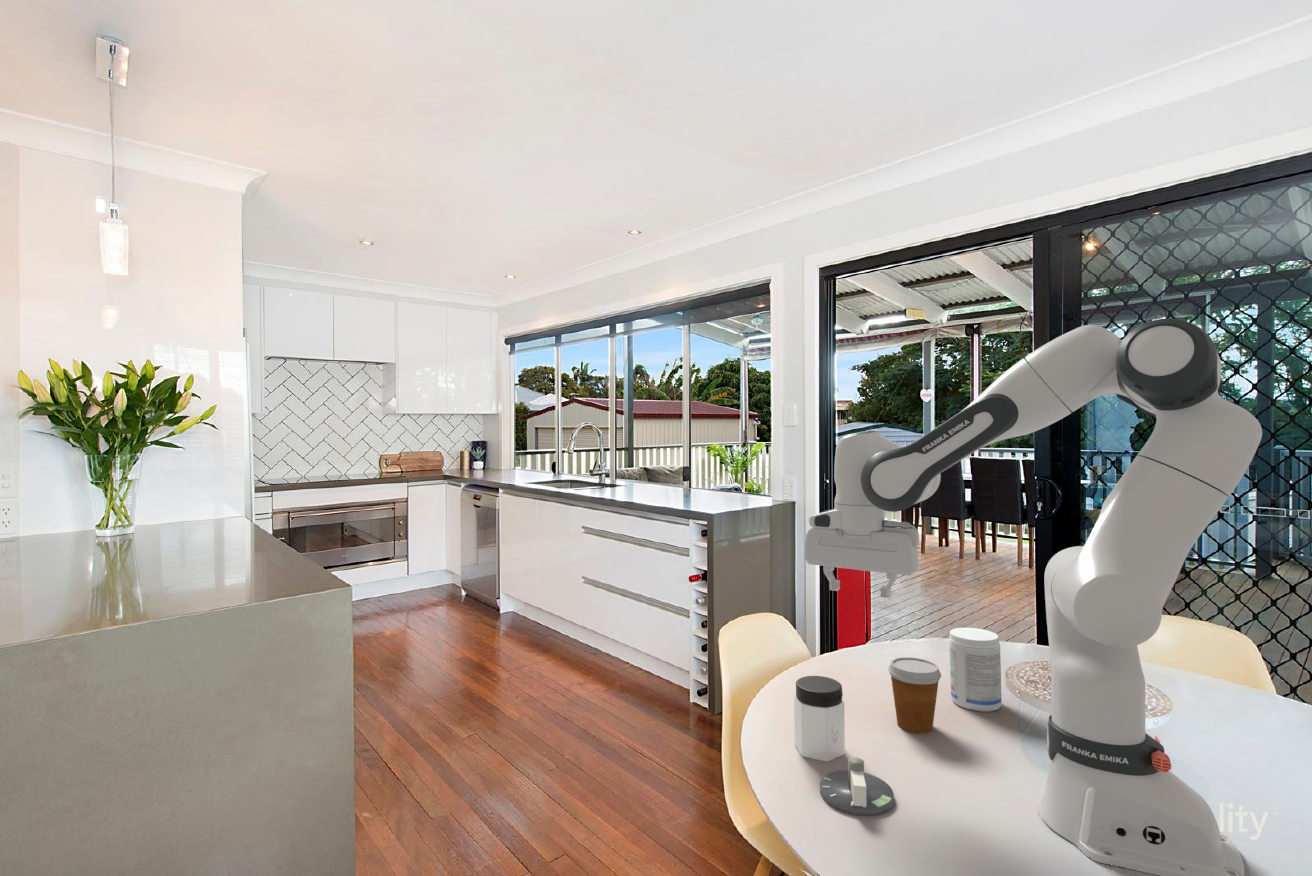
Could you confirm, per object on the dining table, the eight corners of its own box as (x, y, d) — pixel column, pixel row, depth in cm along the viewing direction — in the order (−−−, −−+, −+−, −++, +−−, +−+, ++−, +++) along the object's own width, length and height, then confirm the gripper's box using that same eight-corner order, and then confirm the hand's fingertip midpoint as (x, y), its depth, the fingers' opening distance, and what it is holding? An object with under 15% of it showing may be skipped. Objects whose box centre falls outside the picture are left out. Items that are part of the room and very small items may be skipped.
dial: (901, 791, 101) (901, 782, 101) (882, 826, 92) (882, 817, 92) (833, 770, 107) (833, 762, 107) (809, 802, 98) (809, 793, 98)
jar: (819, 767, 108) (819, 697, 108) (785, 747, 115) (784, 682, 115) (854, 752, 113) (853, 685, 113) (819, 734, 120) (818, 671, 120)
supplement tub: (1010, 705, 132) (1009, 635, 132) (987, 718, 126) (986, 644, 126) (964, 690, 140) (963, 624, 140) (940, 701, 134) (940, 632, 134)
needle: (847, 782, 101) (847, 756, 101) (863, 783, 100) (863, 758, 100) (851, 805, 94) (851, 778, 94) (868, 807, 94) (868, 780, 94)
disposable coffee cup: (890, 734, 120) (889, 671, 120) (887, 713, 129) (886, 654, 129) (945, 741, 117) (944, 676, 117) (938, 719, 126) (937, 658, 126)
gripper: (922, 520, 114) (923, 597, 114) (813, 513, 126) (813, 583, 126) (914, 525, 109) (914, 605, 109) (801, 517, 121) (801, 589, 121)
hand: (859, 593), depth 118 cm, fingers open, 8 cm apart
